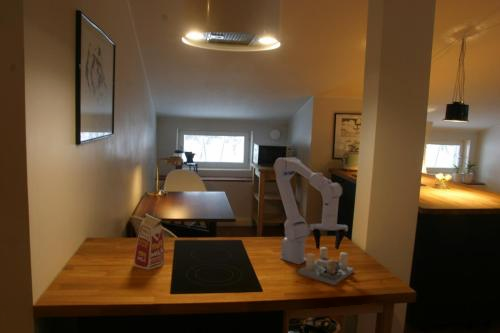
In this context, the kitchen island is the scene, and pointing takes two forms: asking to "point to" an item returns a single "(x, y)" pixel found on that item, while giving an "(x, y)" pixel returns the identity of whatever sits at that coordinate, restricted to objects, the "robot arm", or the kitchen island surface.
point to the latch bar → (324, 264)
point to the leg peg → (331, 267)
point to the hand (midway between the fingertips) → (327, 248)
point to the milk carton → (149, 244)
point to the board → (321, 272)
